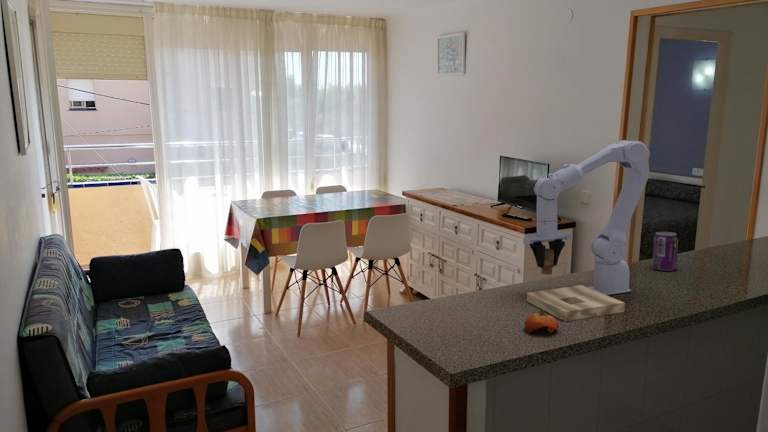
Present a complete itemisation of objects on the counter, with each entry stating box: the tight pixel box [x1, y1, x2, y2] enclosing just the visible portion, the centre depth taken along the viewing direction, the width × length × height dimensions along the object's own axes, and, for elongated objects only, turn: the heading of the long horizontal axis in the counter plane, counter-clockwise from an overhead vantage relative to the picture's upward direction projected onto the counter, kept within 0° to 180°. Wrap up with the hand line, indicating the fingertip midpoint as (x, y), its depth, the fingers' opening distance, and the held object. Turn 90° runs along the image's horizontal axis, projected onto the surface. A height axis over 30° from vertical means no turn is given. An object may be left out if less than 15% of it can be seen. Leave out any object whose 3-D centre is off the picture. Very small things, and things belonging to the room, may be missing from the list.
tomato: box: [524, 309, 560, 335], centre depth 139 cm, size 8×7×7 cm
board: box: [526, 284, 626, 322], centre depth 156 cm, size 18×18×2 cm
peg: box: [540, 247, 555, 276], centre depth 167 cm, size 4×4×7 cm
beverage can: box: [652, 231, 679, 272], centre depth 188 cm, size 7×7×12 cm
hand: (546, 266), depth 167 cm, fingers closed on peg, 4 cm apart
